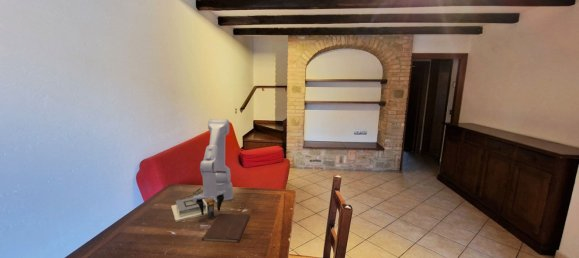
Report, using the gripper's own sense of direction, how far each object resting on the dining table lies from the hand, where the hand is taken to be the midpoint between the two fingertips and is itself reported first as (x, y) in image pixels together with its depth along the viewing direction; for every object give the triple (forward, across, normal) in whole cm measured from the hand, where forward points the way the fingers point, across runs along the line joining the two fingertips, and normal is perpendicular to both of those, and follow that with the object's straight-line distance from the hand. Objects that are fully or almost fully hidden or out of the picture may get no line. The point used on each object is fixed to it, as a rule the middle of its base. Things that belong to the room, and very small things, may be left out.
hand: (210, 212), depth 120 cm
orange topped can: (+2, 0, 0) cm, 2 cm away
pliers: (+3, -4, +29) cm, 29 cm away
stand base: (+2, -7, +11) cm, 13 cm away
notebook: (+3, +4, -13) cm, 14 cm away
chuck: (+2, -7, +11) cm, 13 cm away
